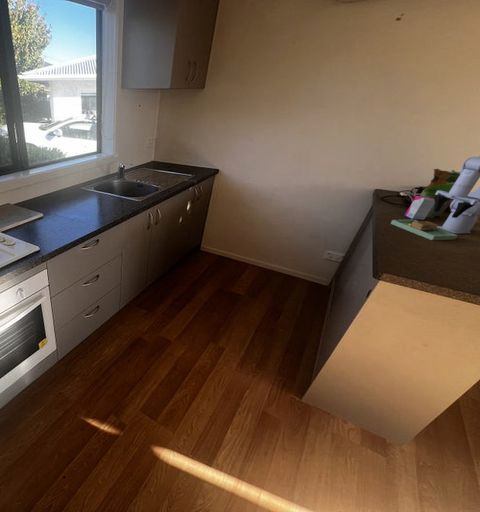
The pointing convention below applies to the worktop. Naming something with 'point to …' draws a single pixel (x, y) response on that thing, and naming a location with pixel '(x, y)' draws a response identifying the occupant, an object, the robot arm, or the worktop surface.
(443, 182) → the pouch
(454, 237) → the tray
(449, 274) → the worktop surface
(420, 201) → the supplement box
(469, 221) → the robot arm
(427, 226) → the eraser
